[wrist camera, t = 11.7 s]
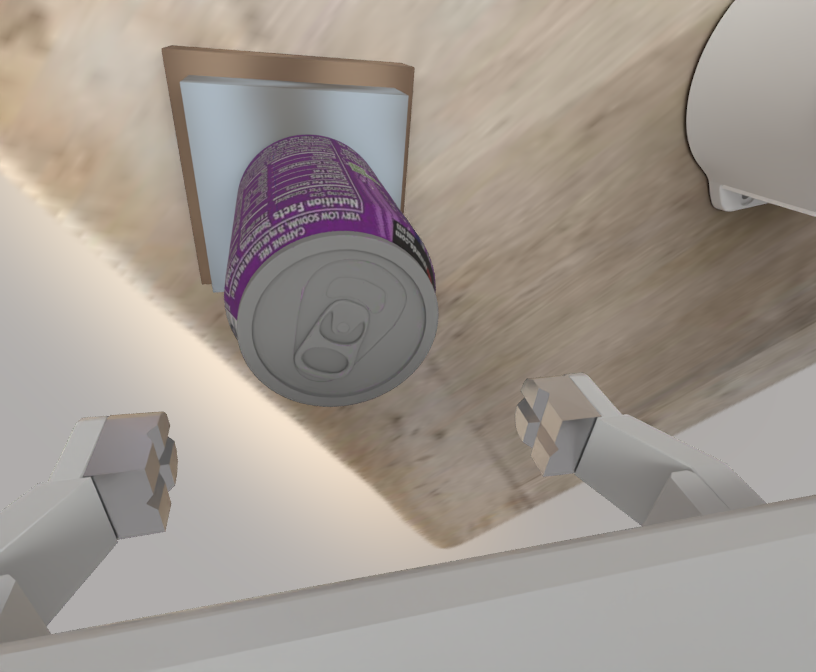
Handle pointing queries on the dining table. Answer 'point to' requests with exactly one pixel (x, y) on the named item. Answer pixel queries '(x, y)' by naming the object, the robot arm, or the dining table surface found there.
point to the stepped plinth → (276, 125)
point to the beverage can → (326, 276)
